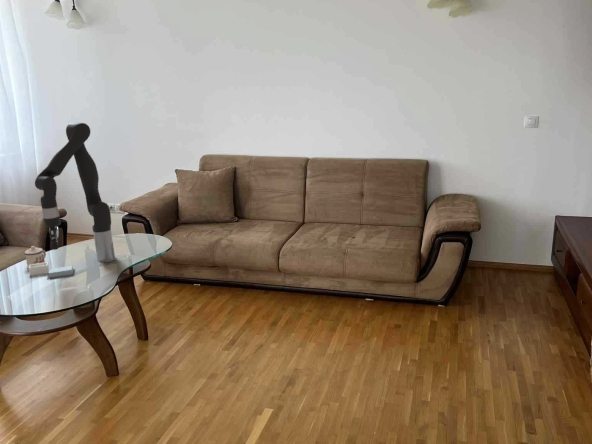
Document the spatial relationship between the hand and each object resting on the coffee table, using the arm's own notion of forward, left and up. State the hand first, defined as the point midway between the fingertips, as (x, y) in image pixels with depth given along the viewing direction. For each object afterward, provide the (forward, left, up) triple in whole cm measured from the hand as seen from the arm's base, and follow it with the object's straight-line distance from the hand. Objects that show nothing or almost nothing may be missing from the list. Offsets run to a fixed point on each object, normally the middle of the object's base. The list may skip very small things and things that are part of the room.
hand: (56, 246), depth 280 cm
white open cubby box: (+11, -8, -16) cm, 21 cm away
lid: (0, 0, -15) cm, 15 cm away
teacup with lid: (+13, -22, -16) cm, 30 cm away
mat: (0, 0, -16) cm, 16 cm away
